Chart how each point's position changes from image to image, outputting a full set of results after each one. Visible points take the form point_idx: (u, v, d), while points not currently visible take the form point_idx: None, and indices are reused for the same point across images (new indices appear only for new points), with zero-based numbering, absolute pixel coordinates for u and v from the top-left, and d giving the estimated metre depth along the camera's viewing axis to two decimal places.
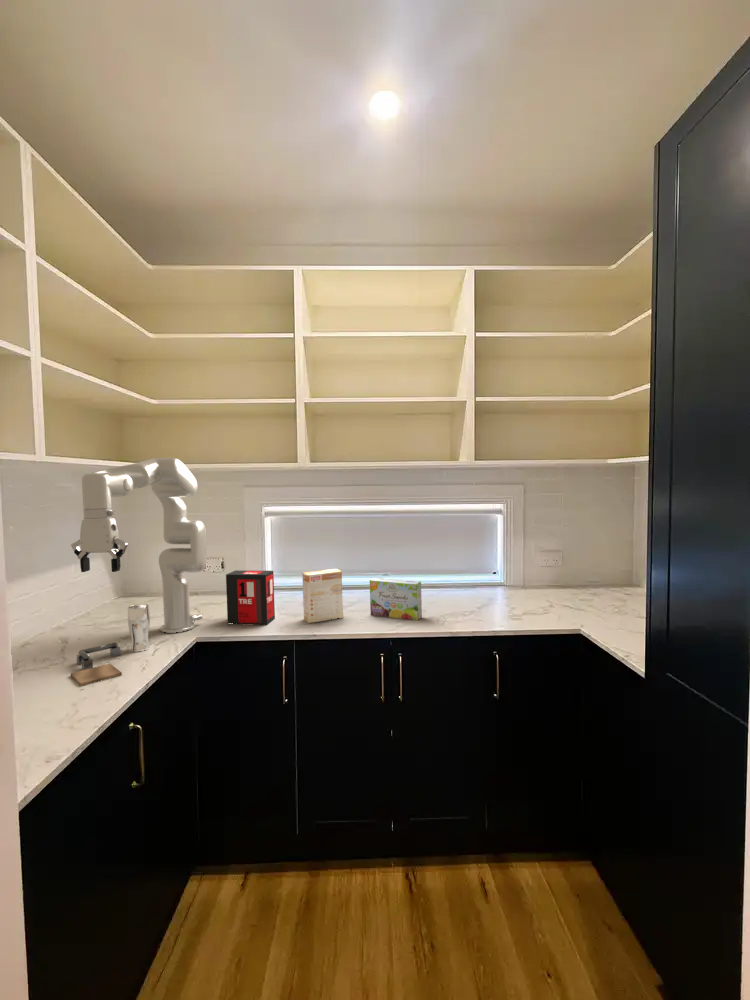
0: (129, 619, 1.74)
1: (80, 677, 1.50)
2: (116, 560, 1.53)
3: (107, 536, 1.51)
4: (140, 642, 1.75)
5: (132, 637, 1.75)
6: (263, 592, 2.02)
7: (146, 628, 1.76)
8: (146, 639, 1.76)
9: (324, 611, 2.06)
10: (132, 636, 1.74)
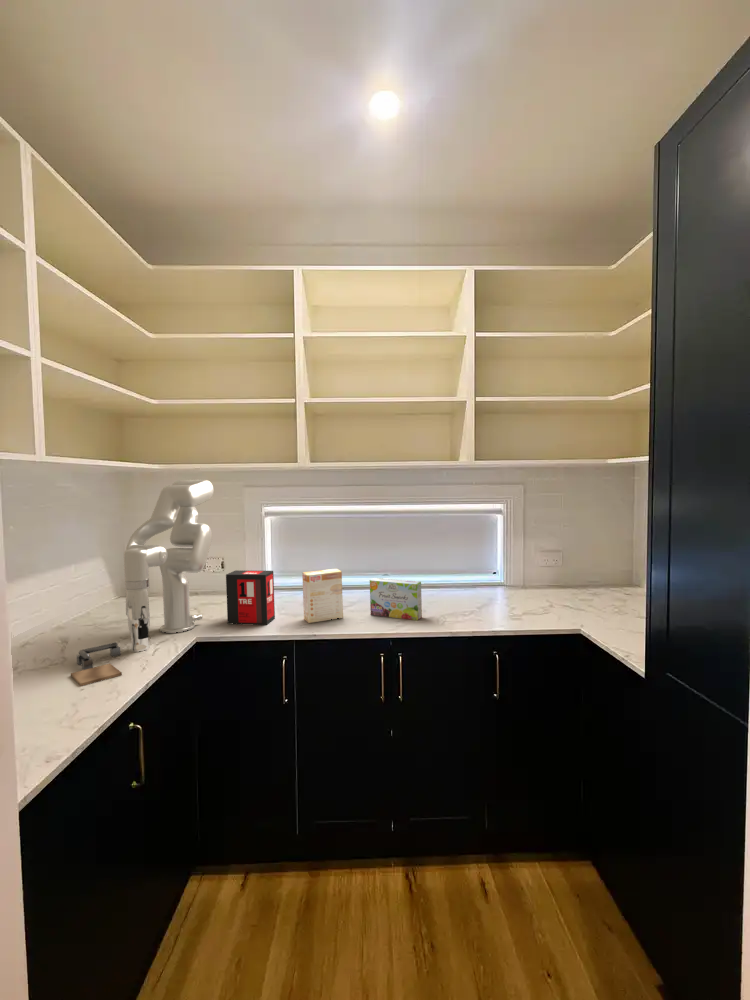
0: (129, 619, 1.74)
1: (80, 677, 1.50)
2: None
3: None
4: (140, 642, 1.75)
5: (132, 637, 1.75)
6: (263, 592, 2.02)
7: None
8: (146, 639, 1.76)
9: (324, 611, 2.06)
10: (132, 636, 1.74)
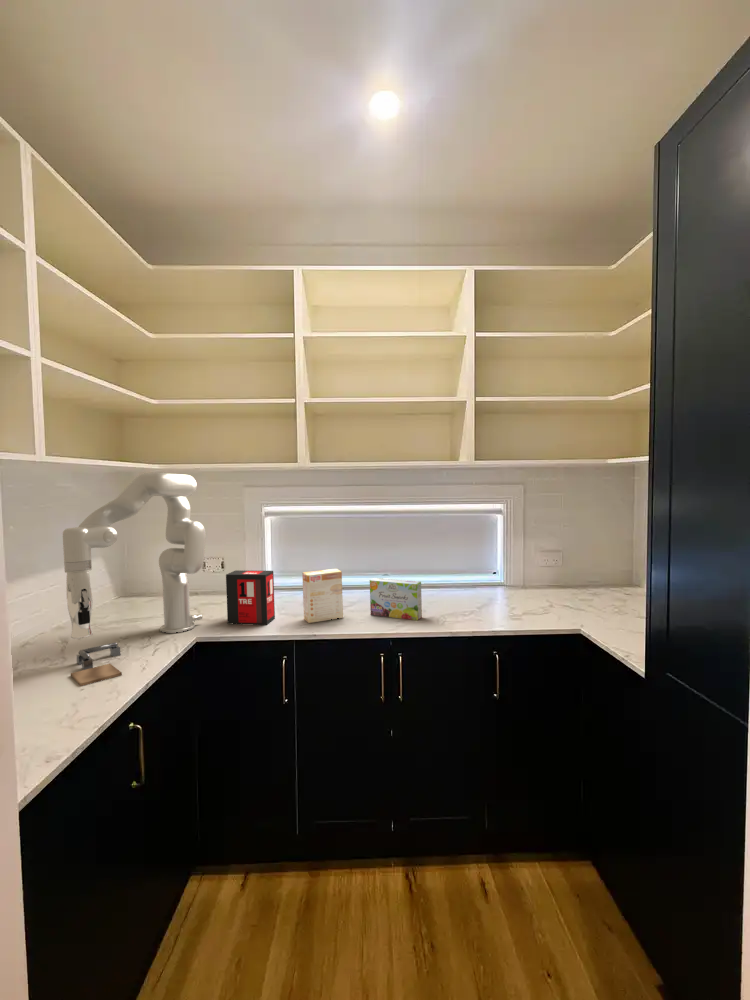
0: (68, 603, 1.61)
1: (80, 677, 1.50)
2: None
3: None
4: (80, 628, 1.62)
5: (72, 622, 1.62)
6: (263, 592, 2.02)
7: None
8: (88, 625, 1.64)
9: (324, 611, 2.06)
10: (72, 621, 1.62)
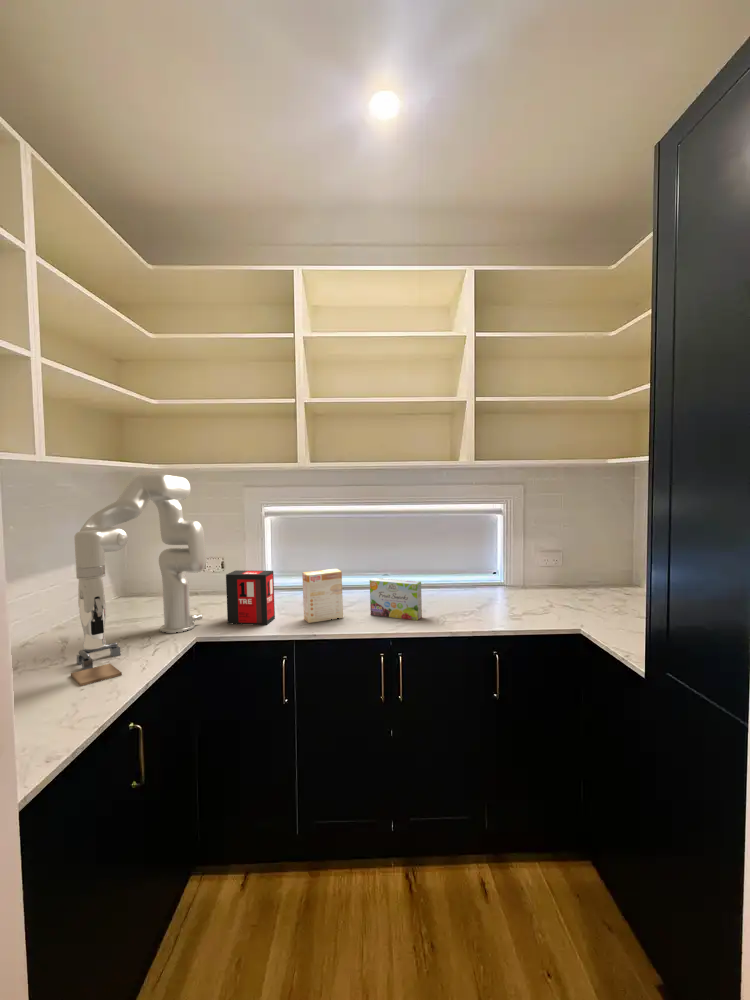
0: (81, 612, 1.50)
1: (80, 677, 1.50)
2: None
3: None
4: (93, 638, 1.51)
5: (85, 632, 1.51)
6: (263, 592, 2.02)
7: None
8: (101, 635, 1.53)
9: (324, 611, 2.06)
10: (84, 631, 1.51)
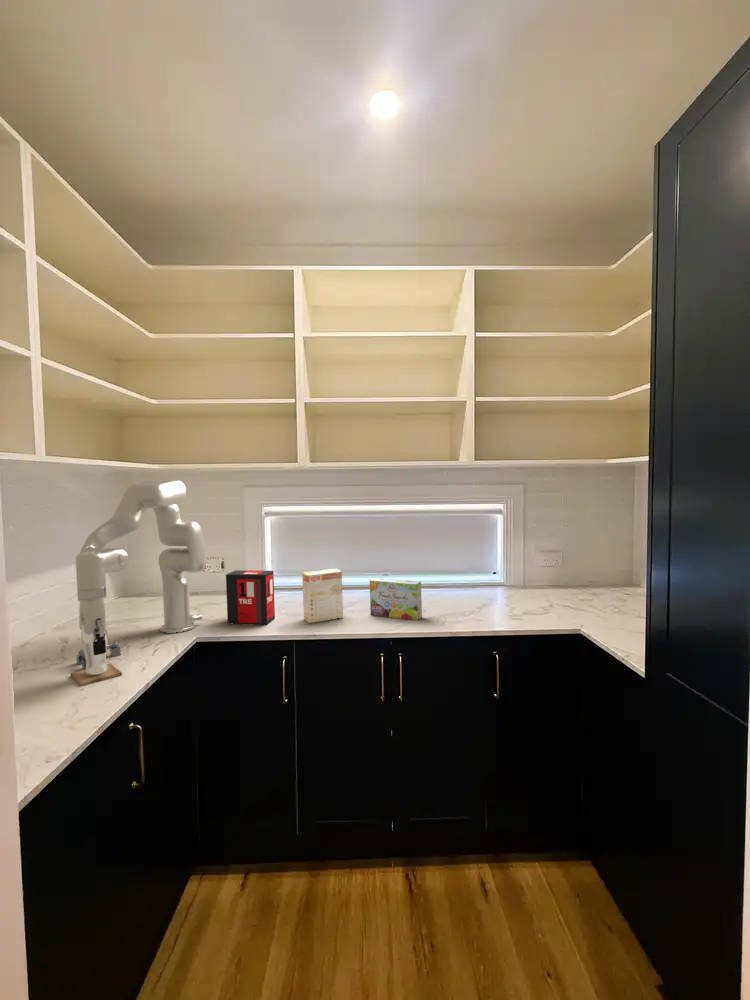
0: (83, 638, 1.51)
1: (80, 677, 1.50)
2: None
3: None
4: (96, 664, 1.52)
5: (87, 659, 1.52)
6: (263, 592, 2.02)
7: None
8: (103, 661, 1.54)
9: (324, 611, 2.06)
10: (87, 658, 1.52)
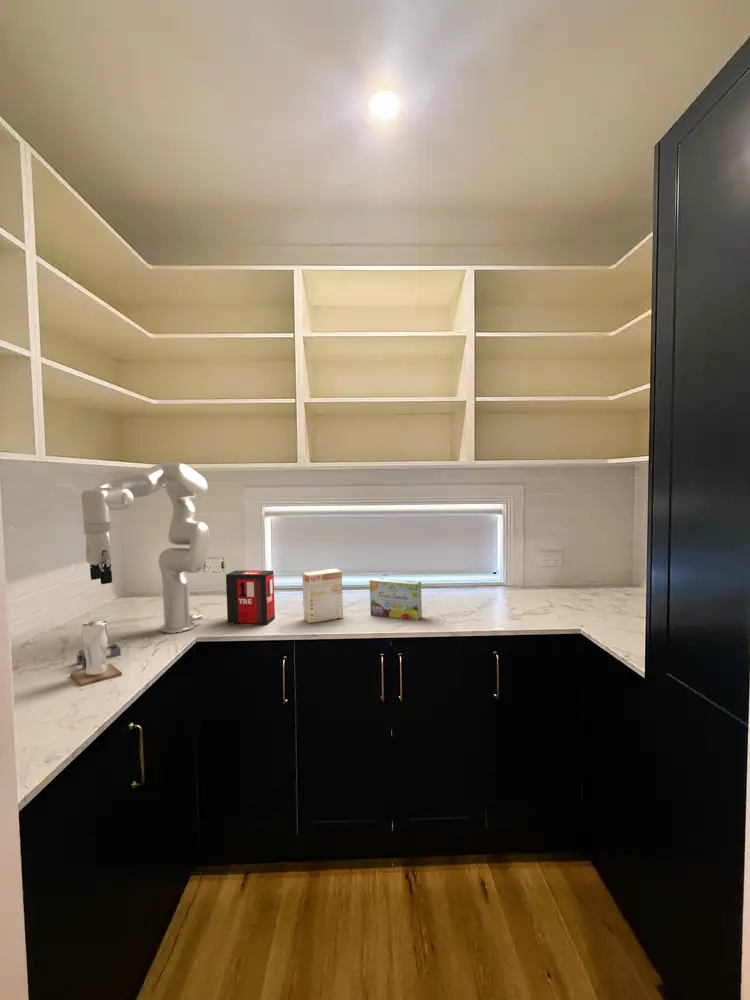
0: (83, 638, 1.51)
1: (80, 677, 1.50)
2: None
3: None
4: (96, 665, 1.52)
5: (87, 659, 1.52)
6: (263, 592, 2.02)
7: (103, 648, 1.53)
8: (103, 661, 1.54)
9: (324, 611, 2.06)
10: (87, 658, 1.52)
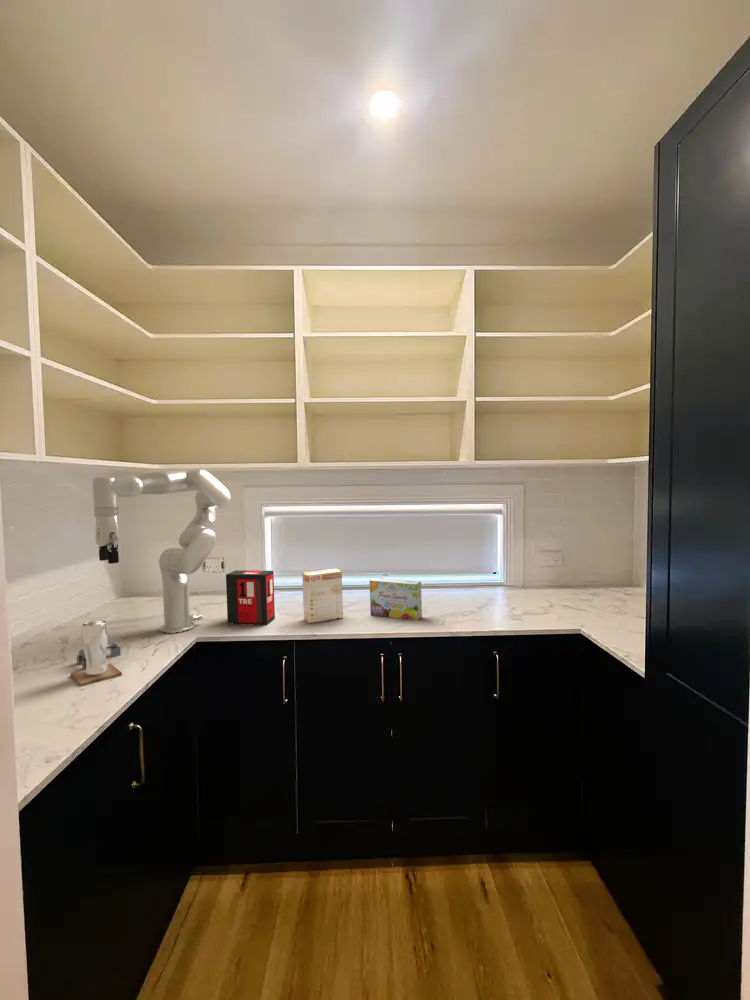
0: (83, 638, 1.51)
1: (80, 677, 1.50)
2: None
3: None
4: (96, 665, 1.52)
5: (87, 659, 1.52)
6: (263, 592, 2.02)
7: (103, 648, 1.53)
8: (103, 661, 1.54)
9: (324, 611, 2.06)
10: (87, 658, 1.52)
